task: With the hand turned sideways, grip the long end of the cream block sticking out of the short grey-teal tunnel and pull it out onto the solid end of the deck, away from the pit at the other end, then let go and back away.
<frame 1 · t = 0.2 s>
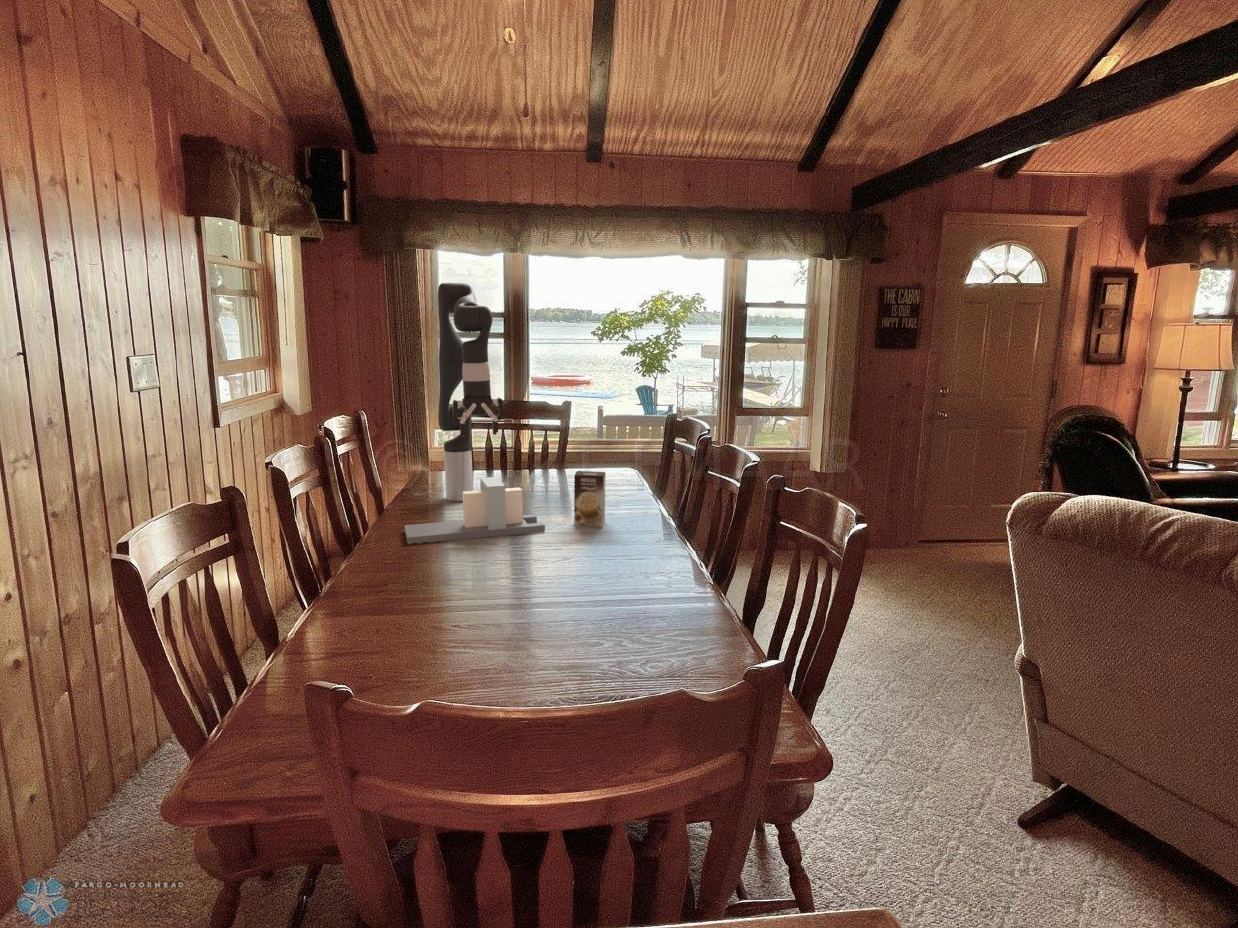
hand: (479, 435, 207), 29 cm above the table, tool pointing down, fingers open, 8 cm apart
tunnel: (493, 530, 215), resting on deck
coffee box: (589, 524, 222), on the table
tin: (500, 516, 232), on the table
deck: (480, 531, 214), on the table
block: (493, 523, 215), point 2 cm above the table, touching deck
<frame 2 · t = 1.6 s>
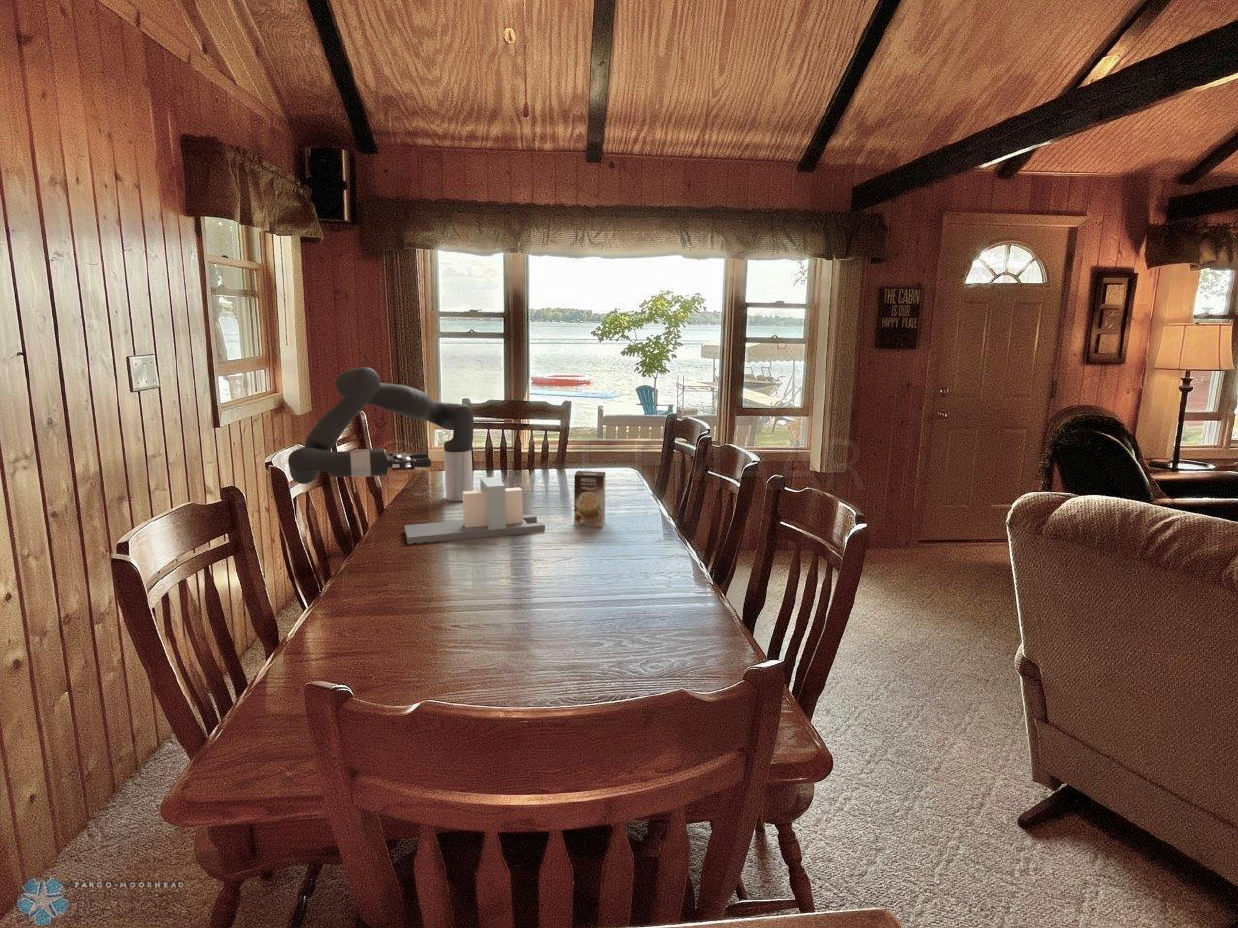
hand: (428, 459, 205), 22 cm above the table, tool horizontal, fingers open, 8 cm apart
nothing on the table moved.
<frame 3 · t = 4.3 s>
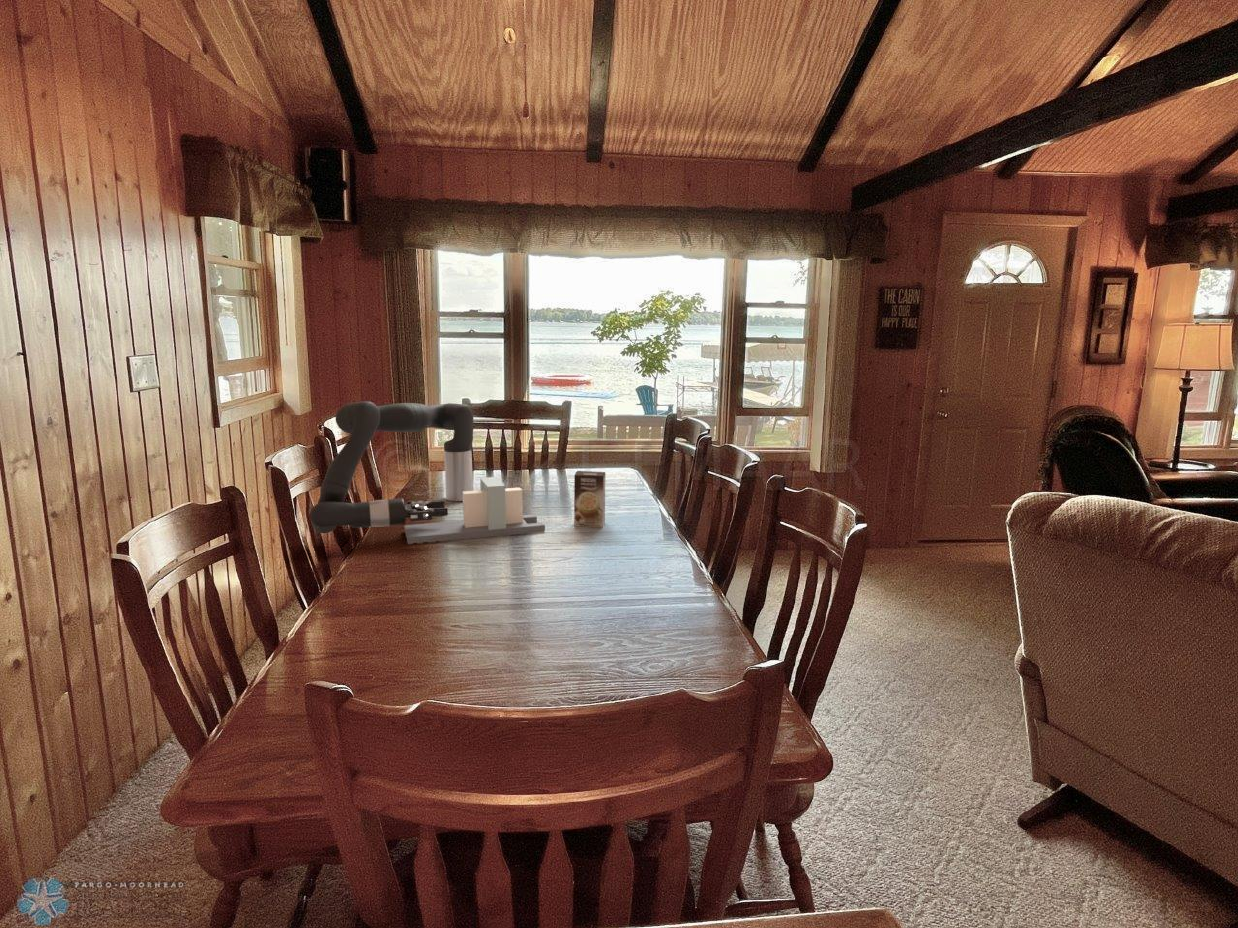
hand: (445, 507, 209), 8 cm above the table, tool horizontal, fingers open, 8 cm apart
nothing on the table moved.
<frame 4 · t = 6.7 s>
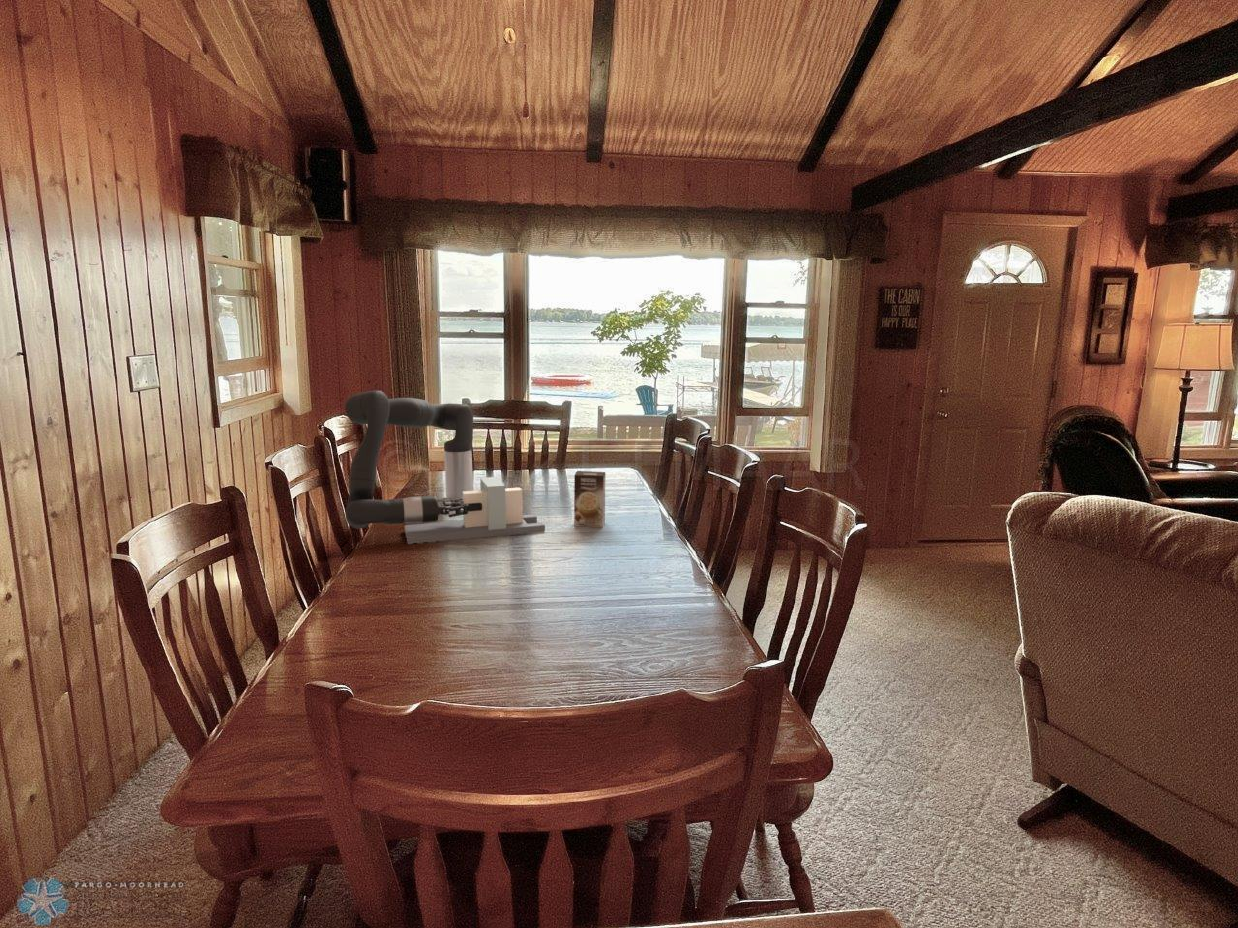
hand: (480, 504, 213), 8 cm above the table, tool horizontal, fingers closed on block, 3 cm apart
block: (493, 523, 215), point 2 cm above the table, touching deck, gripper
everything else where it was.
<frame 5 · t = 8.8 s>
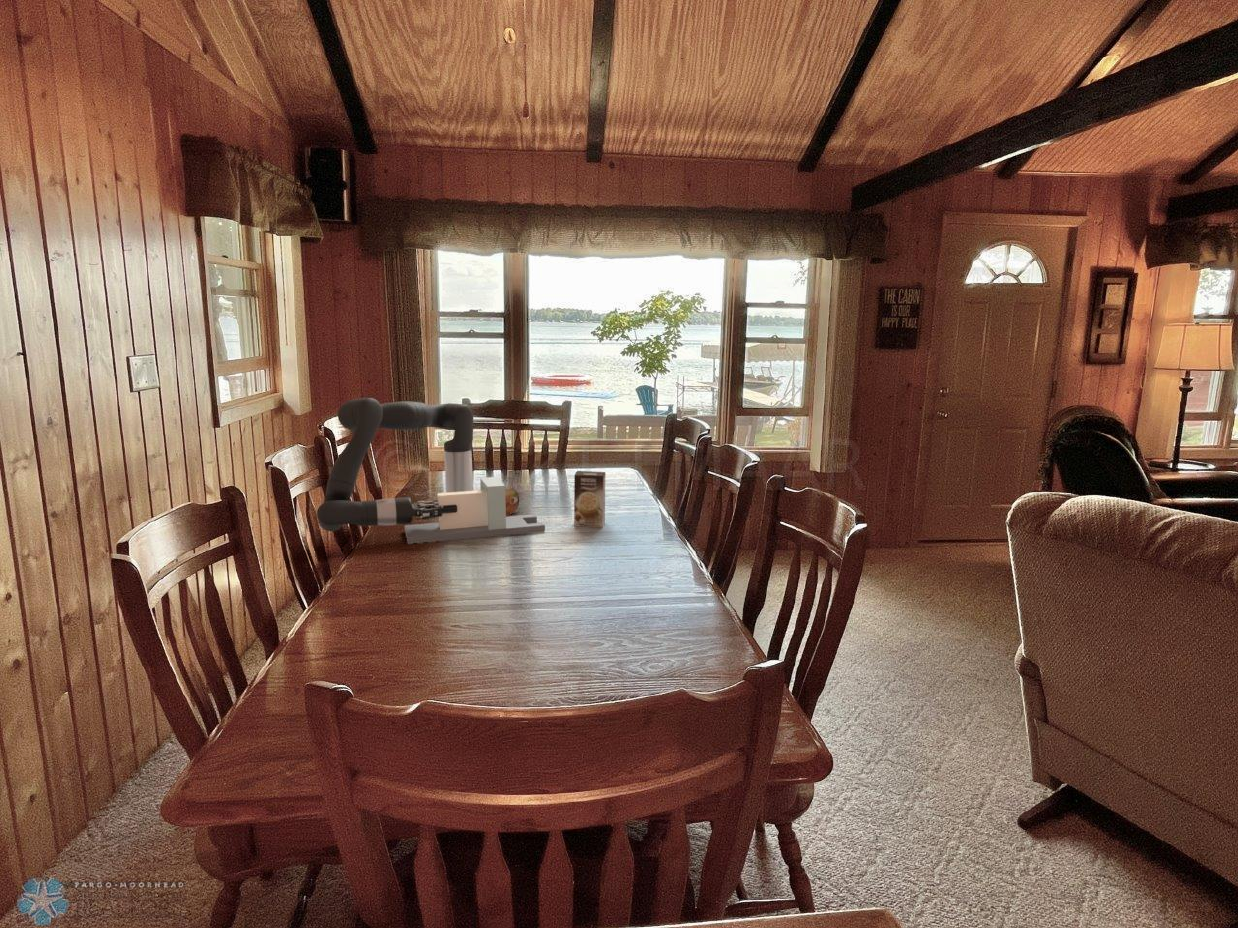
hand: (455, 506, 210), 8 cm above the table, tool horizontal, fingers closed on block, 3 cm apart
block: (469, 525, 212), point 2 cm above the table, touching gripper
everything else where it was.
when the fingers open (8 cm above the table, at t = 11.2 s): block stays where it is, resting on deck.
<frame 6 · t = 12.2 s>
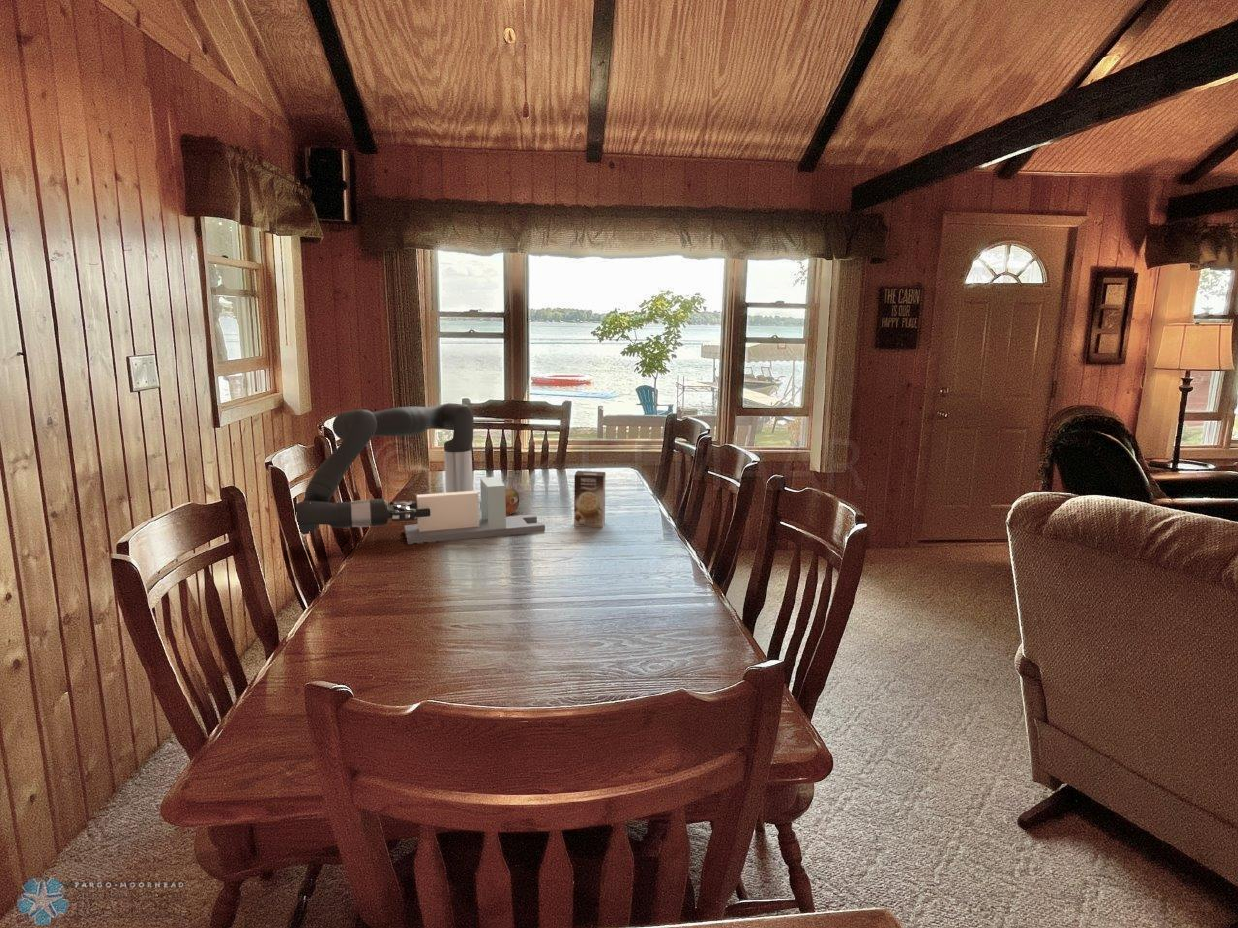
hand: (428, 508, 207), 8 cm above the table, tool horizontal, fingers open, 8 cm apart
block: (448, 527, 210), point 2 cm above the table, touching deck
everything else where it was.
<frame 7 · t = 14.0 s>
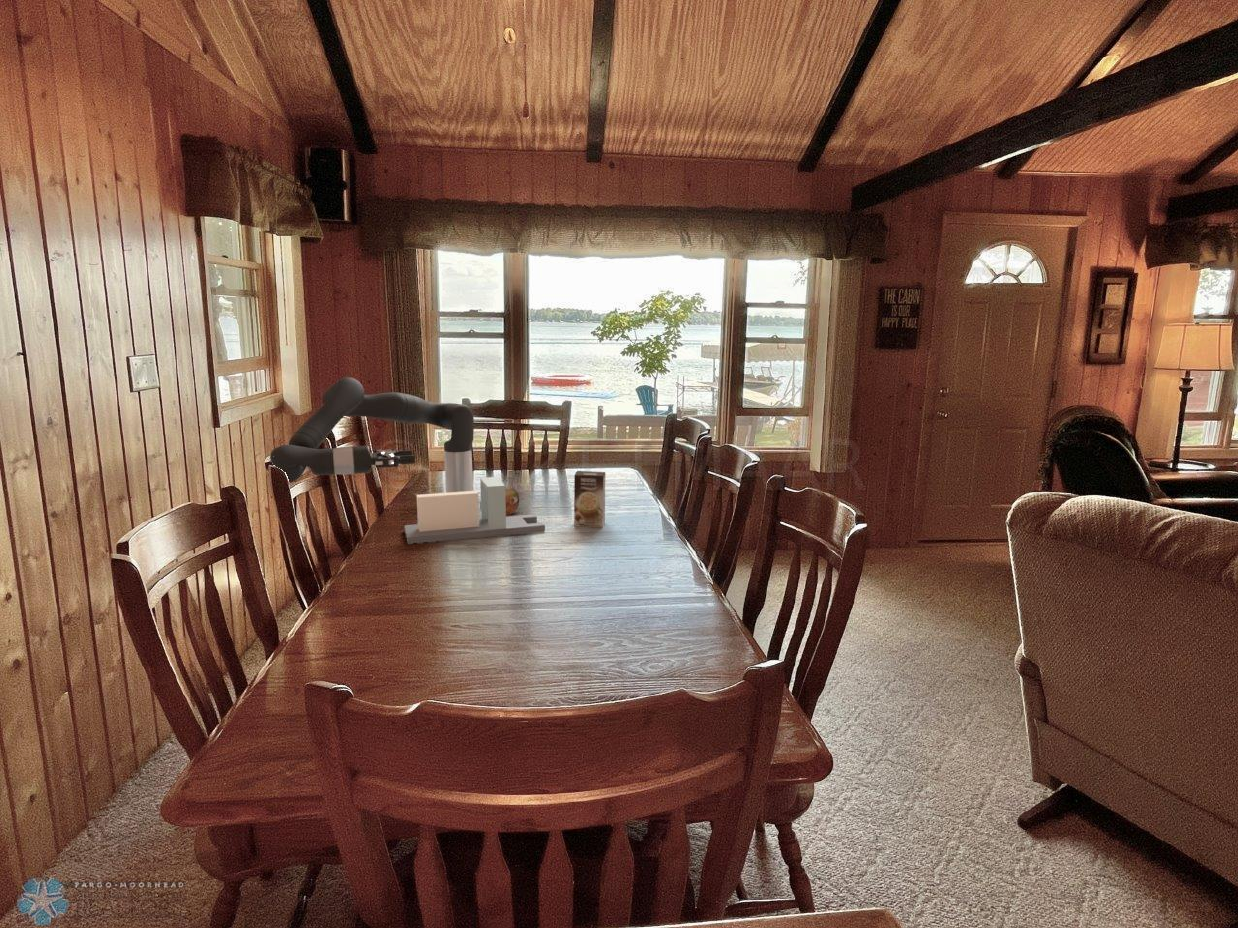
hand: (413, 456, 203), 23 cm above the table, tool horizontal, fingers open, 8 cm apart
nothing on the table moved.
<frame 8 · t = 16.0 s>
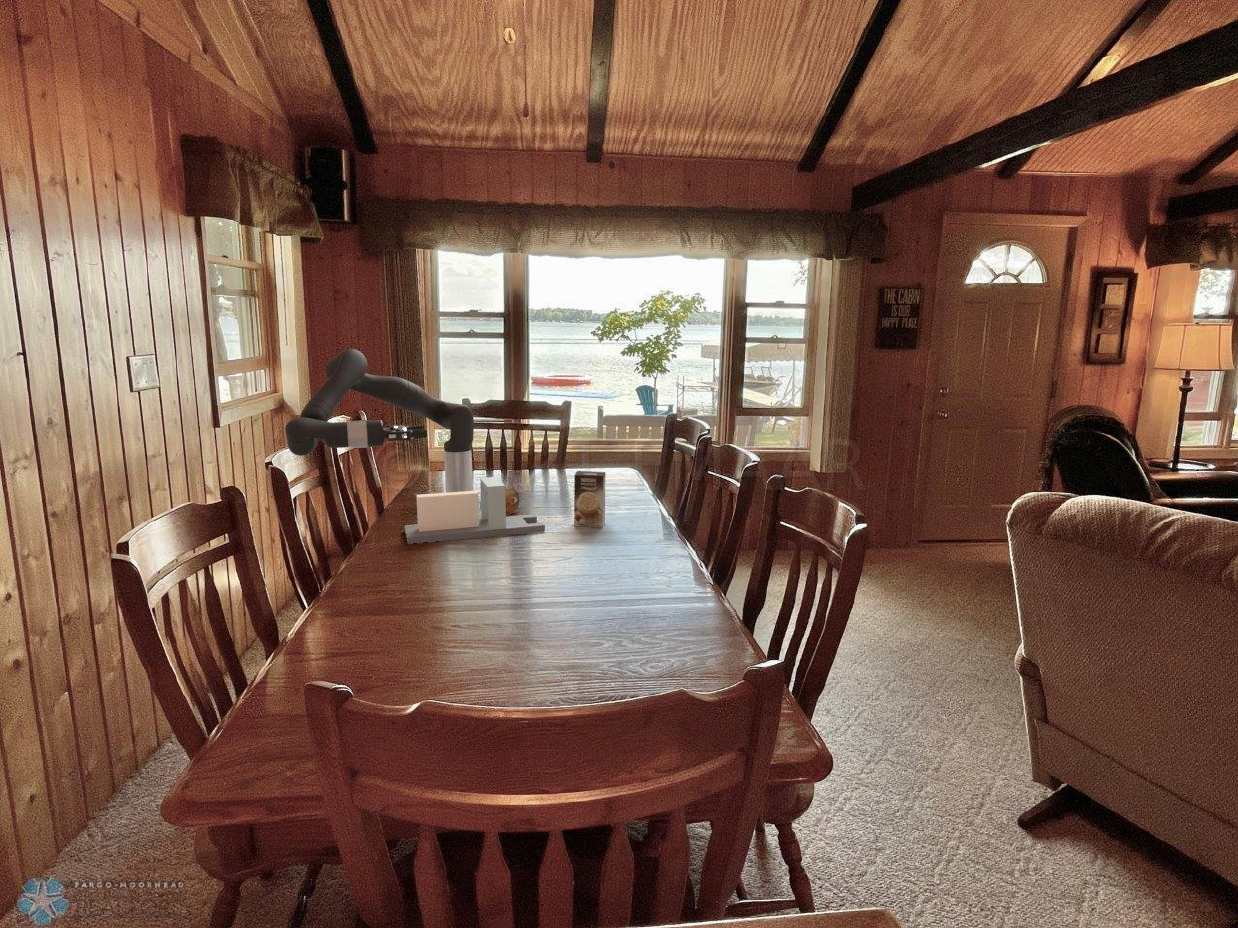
hand: (425, 431, 206), 30 cm above the table, tool horizontal, fingers open, 8 cm apart
nothing on the table moved.
at the end: block inside the target area (1.5 cm from its centre), point 2.0 cm above the table; block tilted 0°; the gripper is holding nothing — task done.
